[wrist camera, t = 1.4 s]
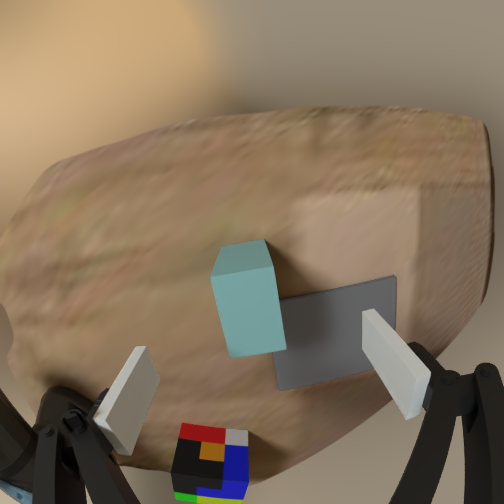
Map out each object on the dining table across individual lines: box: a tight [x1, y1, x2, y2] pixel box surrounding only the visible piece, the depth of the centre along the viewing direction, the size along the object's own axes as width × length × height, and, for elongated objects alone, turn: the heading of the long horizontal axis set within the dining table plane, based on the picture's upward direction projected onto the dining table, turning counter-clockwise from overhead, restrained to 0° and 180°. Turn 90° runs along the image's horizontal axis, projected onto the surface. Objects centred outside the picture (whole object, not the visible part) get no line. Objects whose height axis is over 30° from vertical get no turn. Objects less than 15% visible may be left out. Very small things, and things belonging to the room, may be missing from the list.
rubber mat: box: [272, 275, 396, 391], centre depth 32 cm, size 16×13×1 cm
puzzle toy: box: [171, 423, 249, 504], centre depth 32 cm, size 10×10×10 cm
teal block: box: [210, 239, 286, 358], centre depth 25 cm, size 4×7×10 cm, turn 10°
